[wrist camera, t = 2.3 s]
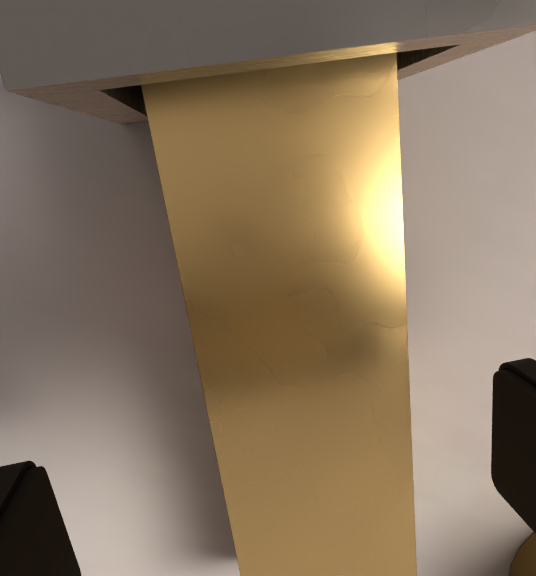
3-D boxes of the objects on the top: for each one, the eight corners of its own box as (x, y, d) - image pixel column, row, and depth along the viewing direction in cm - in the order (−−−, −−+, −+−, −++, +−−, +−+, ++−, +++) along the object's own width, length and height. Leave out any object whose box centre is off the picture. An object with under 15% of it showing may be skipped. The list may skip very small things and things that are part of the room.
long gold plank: (290, -436, 8) (370, -983, 4) (370, 555, 16) (426, 694, 12) (57, -428, 8) (-95, -1013, 4) (252, 582, 15) (268, 733, 11)
